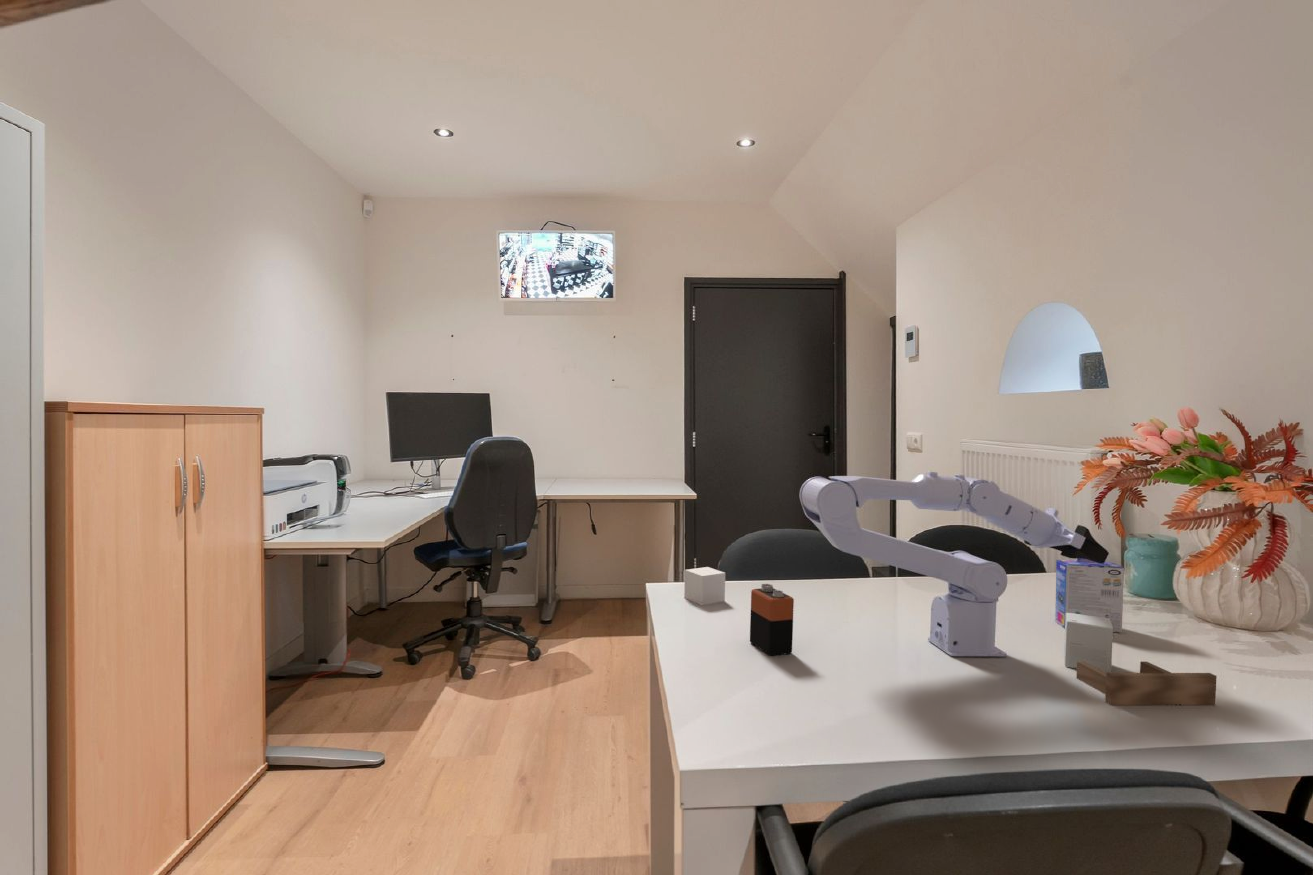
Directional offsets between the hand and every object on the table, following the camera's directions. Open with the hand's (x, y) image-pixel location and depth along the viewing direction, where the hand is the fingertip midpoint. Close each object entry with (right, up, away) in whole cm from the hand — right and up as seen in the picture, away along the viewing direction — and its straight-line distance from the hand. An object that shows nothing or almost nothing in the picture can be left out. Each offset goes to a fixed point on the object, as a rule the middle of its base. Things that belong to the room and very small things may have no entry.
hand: (1087, 552), depth 107 cm
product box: (-5, -17, -7) cm, 19 cm away
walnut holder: (-5, -17, -16) cm, 24 cm away
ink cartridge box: (+9, -17, +13) cm, 23 cm away
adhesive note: (-63, -15, +24) cm, 69 cm away
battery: (-54, -15, -3) cm, 57 cm away
